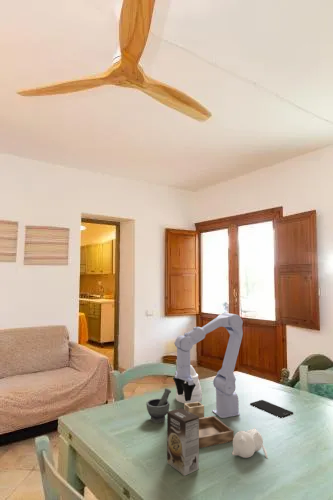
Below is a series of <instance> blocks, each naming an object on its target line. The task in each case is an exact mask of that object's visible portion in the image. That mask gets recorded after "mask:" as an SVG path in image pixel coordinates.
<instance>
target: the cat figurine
mask: <svg viewBox="0 0 333 500" xmlns="http://www.w3.org/2000/svg"><path fill="white" fill-rule="evenodd" d="M232 447H233V450H232V453H231V454H232V455H233V456H239V457H240V458H244V459H247V458H251V457H252V456H253V455H254V454H255V452H259V451H260V450H261V449H262V450H263V453H264V454H263V455H264V457H265V459H268V452H267V449H266V447H265V445H264V439H263V436H262V435H261V433H260V432H259V431H258V430H257V429H256V427H254V428H253V429H252V428H251V429H248V430H240V431H237V432H236V433H234V438H233V441H232Z"/></svg>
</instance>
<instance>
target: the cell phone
mask: <svg viewBox="0 0 333 500" xmlns="http://www.w3.org/2000/svg"><path fill="white" fill-rule="evenodd" d="M249 405H250V406H252V407H254V406H255V407H254V408H256V407H257V408H256V409H259V410H261V411H263V410H264V411H263V412H266V413H268V414H270V413H271V415H272V414H273V415H272V416H274V417H277V416H278V417H277V418H279V417H280V419H283V418H286V417H289V416H291V415H290V414H292V415H294V412H293V411H292V410H289V409H286V408H284V407H280V406H279V405H276V404H273V403H271V402H269V401H266V400H264V399H260V400H257V401H253V402H250V403H249ZM288 415H289V416H288ZM285 416H286V417H285ZM282 417H283V418H282Z"/></svg>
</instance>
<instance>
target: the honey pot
mask: <svg viewBox="0 0 333 500" xmlns="http://www.w3.org/2000/svg"><path fill="white" fill-rule="evenodd" d="M190 371H191V377H192V379H193V383H195V387H194V389H193V392H192V396H191V400H190V401H185V396H184V391H183V394H182V395H178V393H177V388H176V387H175V389H176V391H175V401H177V402H179V403H182V404H186V403H192V402H200V403H201V401H202V400H203V397H202V396H203V394H202V392H203V391H202V389H203V388H202V386H201V383H200V382H201V381H200V380H199V374H198V373H197V372H196V370H195V368H194V367H193V365H192V364H190ZM185 383H186V381H185Z"/></svg>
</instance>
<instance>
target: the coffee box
mask: <svg viewBox="0 0 333 500" xmlns="http://www.w3.org/2000/svg"><path fill="white" fill-rule="evenodd" d="M166 415H167V418H166V420H167V421H166V422H167V423H166V424H167V425H166V426H167V427H166V429H167V431H166V433H167V435H166V439H167V440H166V443H167V444H166V454H167V455H166V462H167V464H168V465H170V466H171V467H172V468H173V469H175V470H176V471H178V473H180V474H181V475H182V476H184V477H185V476H188V475H190V474H192V473H194V472H196V471H198V470H199V469H200V468H199V467H200V465H199V463H200V459H199V458H200V457H199V455H200V452H199V450H200V448H199V417H198V416H196V415H194V414H192V413H190V412H189V411H187V410H185V409H184V408H182V407H180V408H176V409H172V410H169V411H168V412H167V414H166Z"/></svg>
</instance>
